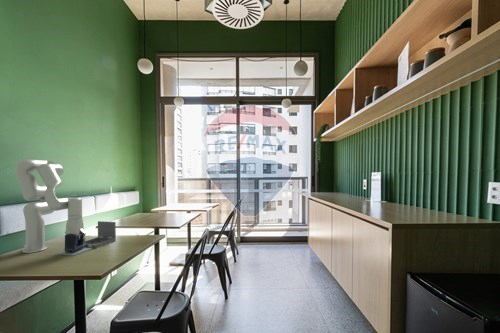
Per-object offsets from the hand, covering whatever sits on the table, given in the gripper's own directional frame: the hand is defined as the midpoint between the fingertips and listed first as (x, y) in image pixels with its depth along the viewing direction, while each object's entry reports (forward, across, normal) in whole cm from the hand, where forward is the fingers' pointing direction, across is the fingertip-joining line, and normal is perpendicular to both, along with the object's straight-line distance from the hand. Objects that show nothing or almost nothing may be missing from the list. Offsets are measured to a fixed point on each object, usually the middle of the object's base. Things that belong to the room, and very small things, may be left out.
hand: (75, 244), depth 158 cm
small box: (+3, 0, 0) cm, 3 cm away
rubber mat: (+4, 0, 0) cm, 4 cm away
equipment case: (+4, 0, +16) cm, 16 cm away
